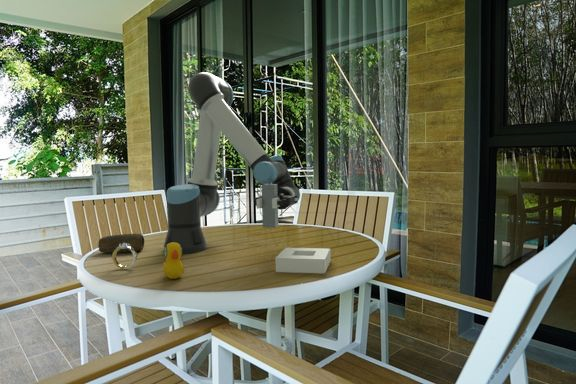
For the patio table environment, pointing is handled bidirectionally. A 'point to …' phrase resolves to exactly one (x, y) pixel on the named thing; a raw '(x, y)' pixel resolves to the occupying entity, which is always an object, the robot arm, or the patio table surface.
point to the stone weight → (121, 242)
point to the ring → (124, 248)
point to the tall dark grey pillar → (269, 206)
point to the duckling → (173, 261)
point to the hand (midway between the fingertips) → (265, 203)
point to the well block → (303, 260)
